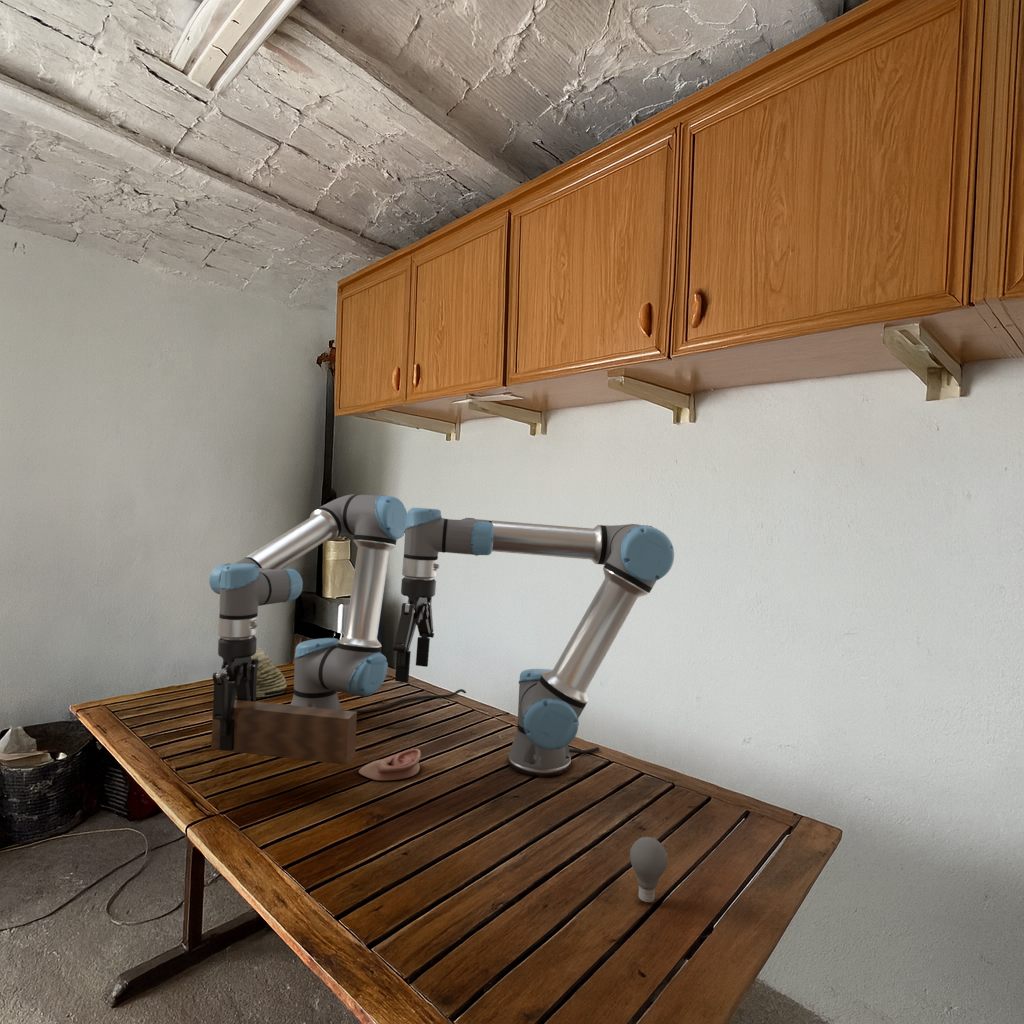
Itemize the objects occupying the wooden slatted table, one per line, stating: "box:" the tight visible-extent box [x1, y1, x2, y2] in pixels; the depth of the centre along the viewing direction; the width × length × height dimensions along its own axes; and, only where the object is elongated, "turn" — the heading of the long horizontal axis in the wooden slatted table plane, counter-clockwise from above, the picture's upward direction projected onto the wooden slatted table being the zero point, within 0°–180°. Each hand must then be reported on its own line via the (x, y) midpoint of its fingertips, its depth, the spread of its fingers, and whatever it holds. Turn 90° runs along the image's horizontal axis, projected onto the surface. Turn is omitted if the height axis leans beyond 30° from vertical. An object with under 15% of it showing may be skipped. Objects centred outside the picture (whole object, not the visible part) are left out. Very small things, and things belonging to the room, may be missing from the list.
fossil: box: [228, 647, 288, 699], centre depth 198 cm, size 9×18×15 cm, turn 132°
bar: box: [210, 699, 358, 766], centre depth 134 cm, size 30×5×10 cm, turn 81°
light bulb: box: [629, 836, 668, 903], centre depth 103 cm, size 6×6×10 cm
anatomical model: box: [358, 748, 422, 782], centre depth 147 cm, size 13×4×12 cm
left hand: (234, 744), depth 136 cm, fingers closed on bar, 5 cm apart
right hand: (412, 673), depth 140 cm, fingers open, 13 cm apart
